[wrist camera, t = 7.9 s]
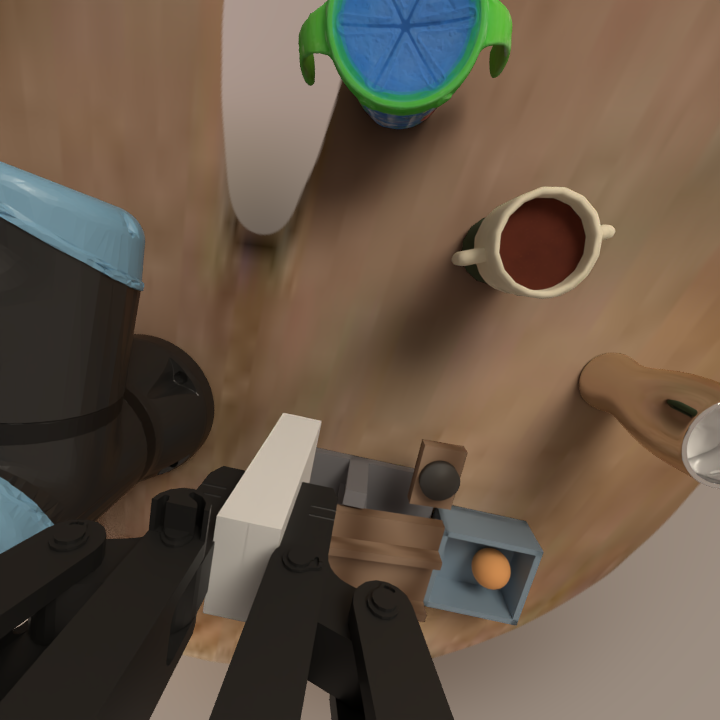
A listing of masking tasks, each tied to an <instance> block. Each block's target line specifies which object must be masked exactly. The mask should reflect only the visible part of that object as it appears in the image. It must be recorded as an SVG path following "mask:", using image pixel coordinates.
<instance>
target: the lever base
mask: <svg viewBox="0 0 720 720" xmlns="http://www.w3.org/2000/svg"><path fill="white" fill-rule="evenodd" d="M413 473H414V468H409V467H405V466H400V465H395V464H391V463H386V462H381V461H377V460H372V459H367V458H363V457H358V456H353V455H349V454H344V453H339V452H335V451H330V450H325V449H321V448H316V452H315V457H314V462H313V467H312V472H311V477H310V482H309V483H310V484H315V485H320V486H324V487H329V488H333V489H334V491H335V493H336V495H337V498H338V503H337V504H339V505H346V506H352V507H357V508H362V509H363V508H365V509H372V510H379V511H385V512H392V513H398V514H405V515H412V516H418V517H425V518H430V517H431V513H432V510H433V507H429V506H422V505H416V504H409V500H408V497H407V495H408V492H409V488H410V484H411V480H412V477H413Z"/></svg>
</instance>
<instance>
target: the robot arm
mask: <svg viewBox="0 0 720 720" xmlns="http://www.w3.org/2000/svg"><path fill="white" fill-rule="evenodd" d="M144 248H145V236H144V232H143V230H142V227H141V225H140V224H139V223H138V221H137V220H136V219H135V218H134V217H133V216H132V215H131V214H129V213H128V212H127V211H125V210H123V209H121V208H119V207H117V206H114V205H111V204H109V203H106V202H104V201H101V200H99V199H96V198H94V197H91V196H88V195H86V194H83V193H81V192H78V191H76V190H73V189H70V188H68V187H65V186H63V185H60V184H57V183H55V182H52V181H50V180H47V179H45V178H42V177H39V176H37V175H34V174H32V173H29V172H26V171H24V170H21V169H19V168H16V167H13V166H11V165H8V164H6V163H3V162H0V720H149V719H150V717H151V715H152V713H153V711H154V709H155V707H156V705H157V703H158V701H159V699H160V697H161V695H162V693H163V691H164V689H165V687H166V685H167V683H168V681H169V679H170V677H171V675H172V673H173V671H174V669H175V667H176V665H177V663H178V661H179V659H180V658H181V656H182V654H183V652H184V650H185V648H186V646H187V644H188V642H189V640H190V638H191V636H192V634H193V630H194V627H195V622H196V615H197V611H198V609H199V607H200V606H201V604H202V602H203V600H204V598H205V601H204V608H203V613H206V614H210V615H215V616H220V617H224V618H229V619H234V620H238V621H243V622H246V623H245V625H244V628H243V631H242V633H241V636H240V639H239V641H238V644H237V647H236V649H235V652H234V655H233V657H232V660H231V663H230V665H229V668H228V671H227V673H226V676H225V678H224V681H223V684H222V687H221V689H220V692H219V694H218V697H217V700H216V702H215V705H214V708H213V710H212V713H211V716H210V718H209V720H300V718H301V712H302V707H303V702H304V696H305V690H306V684H307V680H308V681H310V682H311V683H313V684H315V685H316V686H318V687H319V688H321V689H323V690H324V691H326V692H327V693H329V694H330V699H329V700H330V709H331V719H332V720H454V718H453V716H452V713H451V710H450V707H449V705H448V702H447V699H446V697H445V694H444V691H443V688H442V685H441V683H440V680H439V677H438V675H437V672H436V669H435V666H434V663H433V661H432V658H431V655H430V652H429V650H428V647H427V644H426V641H425V639H424V636H423V633H422V630H421V628H420V625H419V622H418V619H417V617H416V614H415V611H414V608H413V606H412V604H411V602H410V600H409V599H408V597H407V595H406V594H405V593H404V592H402V591H401V590H400V589H399V588H398V587H396V586H394V585H392V584H390V583H388V582H384V581H378V580H374V581H367V582H365V583H363V584H361V585H360V586H358V588H355V587H353V586H351V585H349V584H348V583H346V582H344V581H343V580H341V579H340V578H339V577H338V576H337V575H336V574H335V573H334V572H333V570H332V569H331V567H330V564H329V561H328V554H329V548H330V543H331V537H332V531H333V526H334V520H335V514H336V508H337V503H338V498H337V495H336V493H335V491H334V489H333V488H329V487H324V486H320V485H315V484H310V483H309V482H310V477H311V472H312V467H313V462H314V457H315V452H316V447H317V442H318V437H319V432H320V427H321V422H322V421H319V420H315V419H310V418H305V417H301V416H296V415H291V414H287V413H283V414H282V416H281V417H280V419H279V421H278V422H277V424H276V425H275V427H274V428H273V430H272V431H271V433H270V434H269V436H268V437H267V439H266V441H265V442H264V444H263V445H262V447H261V448H260V450H259V451H258V453H257V454H256V456H255V458H254V459H253V461H252V462H251V464H250V465H249V467H248V468H247V470H246V471H244V470H240V469H235V468H230V467H226V466H223V467H221V468H219V469H217V470H215V471H213V472H211V473H210V474H209V475H208V476H207V477H206V479H205V480H204V481H203V482H202V484H201V485H200V486H199V487H198V489H197V490H195V489H188V488H178V489H170V490H167V491H165V492H162V493H159V494H158V495H157V496H155V497H154V498H152V503H151V513H150V524H149V531H148V532H147V533H146V534H145V535H144V536H143V537H139V538H129V539H106V532H105V528H104V527H103V526H102V525H101V524H99V523H98V522H95V521H96V520H97V519H98V518H99V517H100V516H102V515H103V514H104V513H105V512H106V511H107V510H108V509H109V508H110V507H111V506H113V505H114V504H115V503H116V502H117V501H118V500H119V499H120V498H121V497H122V496H124V495H125V494H126V493H127V492H128V491H129V490H130V489H131V488H132V487H133V486H134V485H136V484H137V483H138V482H140V481H143V480H146V479H148V478H151V477H154V476H156V475H159V474H163V473H166V472H168V471H171V470H173V469H175V468H177V467H178V466H180V465H182V464H183V463H184V462H186V461H187V460H188V459H189V458H190V457H191V456H192V455H193V454H194V453H195V452H196V451H197V450H198V449H199V448H200V447H201V446H202V445H203V443H204V442H205V440H206V439H207V437H208V435H209V433H210V430H211V427H212V423H213V418H214V401H213V396H212V392H211V388H210V386H209V383H208V381H207V379H206V377H205V375H204V373H203V372H202V370H201V369H200V367H199V366H198V365H197V363H196V362H195V361H194V360H193V359H192V358H191V357H190V356H189V355H188V354H187V353H185V352H184V351H183V350H182V349H180V348H179V347H177V346H175V345H174V344H172V343H170V342H168V341H166V340H163V339H160V338H157V337H154V336H149V335H141V334H134V327H135V321H136V315H137V309H138V303H139V298H140V292H141V291H143V289H144V283H143V282H142V272H143V259H144ZM26 619H28V621H26V622H25V623H24V624H22V625H21V626H19V627H17V626H18V625H20V624H21V623H22V622H24V621H25V620H26ZM16 627H17V628H16ZM14 628H15V629H14Z"/></svg>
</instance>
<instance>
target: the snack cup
mask: <svg viewBox="0 0 720 720" xmlns="http://www.w3.org/2000/svg"><path fill="white" fill-rule="evenodd" d="M511 33H512V20H511V16H510V14H509V11H508V10H507V8H506V7H505V6H504V5H503V4H502V3H501V2H500V1H499V0H328V1H327V2H326V3H324V5H322V6H321V7H320V8H318V9H317V10H316V11H314V12H313V13H311V14H310V15H309V17H308V19H307V20H306V21H305V22H304V24H303V25H302V28H301V30H300V33H299V53H300V67H301V71H302V75H303V77H304V79H305V82H306V83H307V84H308V85H310V86H311V85H313V84H314V82H315V81H314V80H315V79H314V78H315V65H314V56H313V53H321V54H325V55H328V56H329V57H330V58H331V59H332V60H333V62H334V65H335V67H336V69H337V71H338V73H339V75H340V77H341V79H342V80H343V82H344V83H345V85H346V86H347V87H348V89H349V90H350V91H351V92H352V93H353V94H354V95H355V96H356V97H357V99H358V100H359V102H360V104H361V106H362V107H363V109H364V110H365V111H366V113H367V114H368V115H369V116H370V117H371V118H372V119H373V120H374V121H375V122H376V123H377V124H379V125H381V126H382V127H387V128H392V129H406V128H411V127H414V126H416V125H418V124H420V123H421V122H423V121H424V120H425V119H426V118H428V117H429V116H430V115H431V114H432V113H433V112H434V111H435V109H436V108H437V107H439V106H441V105H442V104H444V103H445V102H447V101H448V100H449V99H450V98H451V96H452V94H454V93H455V91H456V90H457V89H458V88H459V87H460V85H461V84H462V83H463V82H464V80H465V79H466V77H467V76H468V74H469V73H470V71H471V69H472V68H473V66H474V64H475V62H476V59H477V57H478V55H479V53H480V52H481V50H483V49H484V48H485V47H487V46H492V45H493V47H492V50H491V52H490V61H489V63H490V74H491V77H492V78H495V77H497V76H499V75H500V73H501V72H502V71H503V69H504V67H505V65H506V63H507V61H508V58H509V55H510V50H511Z"/></svg>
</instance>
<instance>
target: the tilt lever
mask: <svg viewBox="0 0 720 720" xmlns="http://www.w3.org/2000/svg"><path fill="white" fill-rule="evenodd" d="M467 453H468V452H467V451H466V449H465V448H464V446H458V445H453V444H447V443H441V442H435V441H429V440H424V439H422V443H421V447H420V450H419V454H418V458H417V462H416V465H415V469H414V473H413V477H412V480H411V484H410V488H409V492H408V495H407V497H408V500H409V504H416V505H422V506H429V507H435V508H442V509H448V510H451V507H452V504H453V500H454V497H455V493H456V492H457V491H458V489H459V486H460V477H461V473H462V470H463V467H464V463H465V460H466V457H467ZM444 530H445V526H444V524H443V521H442V520H438V519H431V518H425V517H418V516H412V515H405V514H398V513H392V512H385V511H379V510H372V509H365V508H363V509H362V508H357V507H352V506H346V505H339V504H337V508H336V514H335V520H334V526H333V531H332V537H331V543H330V548H329V554H328V561H329V564H330V567H331V569H332V570H333V572H334V573H335V574H336V575H337V576H338V577H339V578H340V579H341V580H343V581H344V582H346V583H348V584H349V585H351V586H353V587H355V588H358V586H360V585H361V584H363V583H365V582H367V581H374V580H378V581H384V582H388V583H390V584H392V585H394V586H396V587H398V588H399V589H400V590H401V591H402V592H404V593H405V594H406V595H407V597H408V599H409V600H410V602H411V604H412V606H413V608H414V611H415V614H416V617H417V619H418V621H420V622H425V619H426V616H427V615H426V611H425V607H424V603H423V601H424V597H425V594H426V591H427V587H428V584H429V581H430V577H431V574H432V571H433V570H441V567H442V560H441V558H440V555H439V552H438V550H439V547H440V544H441V540H442V537H443V534H444Z"/></svg>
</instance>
